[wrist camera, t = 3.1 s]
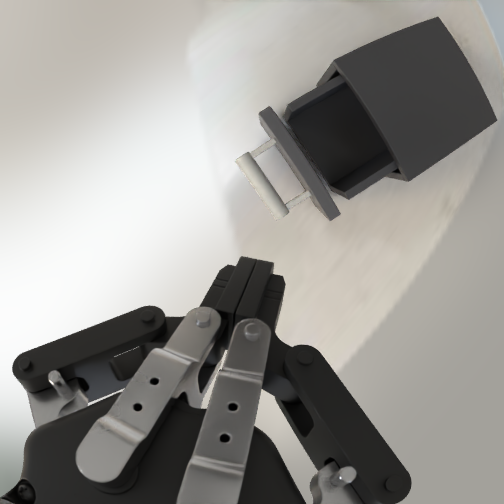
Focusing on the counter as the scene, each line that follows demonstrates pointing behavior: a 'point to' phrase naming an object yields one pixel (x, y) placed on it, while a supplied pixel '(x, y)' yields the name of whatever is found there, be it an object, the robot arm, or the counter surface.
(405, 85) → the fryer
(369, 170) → the dark grey drawer
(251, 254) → the counter surface
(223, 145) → the counter surface
